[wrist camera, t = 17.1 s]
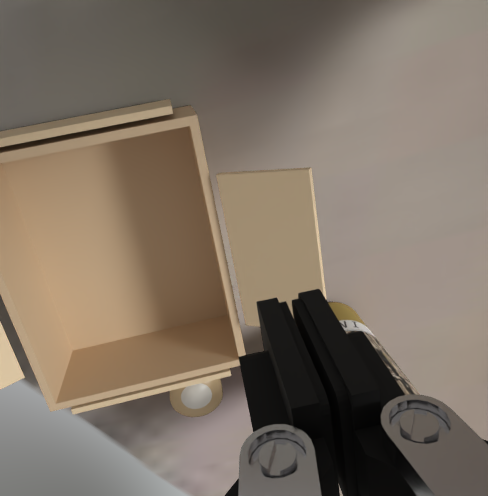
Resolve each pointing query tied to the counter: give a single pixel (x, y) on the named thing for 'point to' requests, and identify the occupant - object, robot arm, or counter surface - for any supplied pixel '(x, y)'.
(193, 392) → the white-capped tan cylinder
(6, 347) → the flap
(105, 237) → the carton
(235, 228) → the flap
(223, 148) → the counter surface
